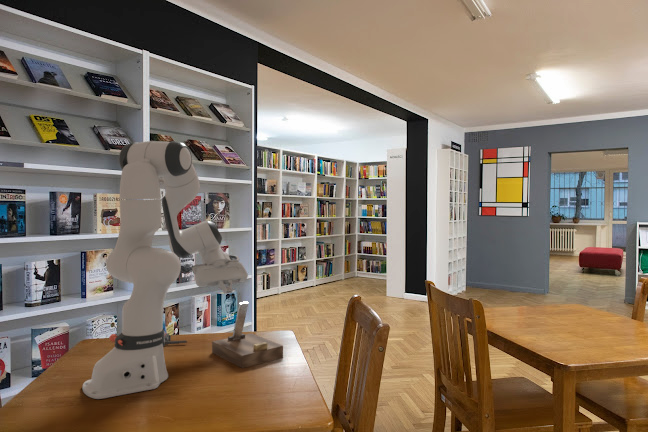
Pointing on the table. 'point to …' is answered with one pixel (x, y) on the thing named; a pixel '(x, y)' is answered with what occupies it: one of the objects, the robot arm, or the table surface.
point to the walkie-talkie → (168, 337)
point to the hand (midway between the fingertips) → (228, 292)
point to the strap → (240, 320)
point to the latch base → (247, 350)
